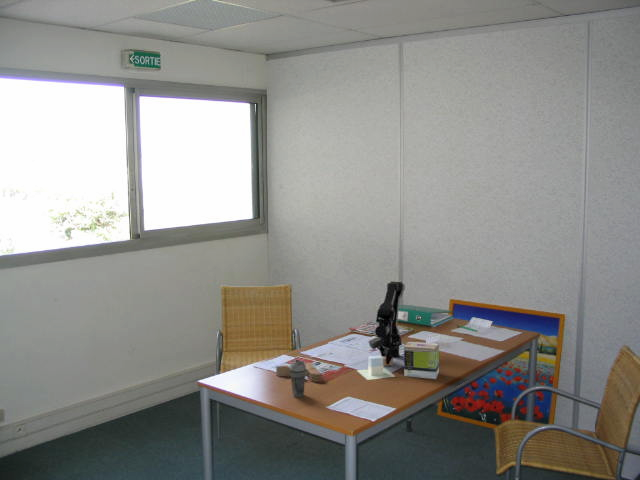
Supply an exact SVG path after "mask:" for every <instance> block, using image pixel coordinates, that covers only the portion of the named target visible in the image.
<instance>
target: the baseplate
mask: <svg viewBox="0 0 640 480" xmlns="http://www.w3.org/2000/svg"><path fill="white" fill-rule="evenodd" d="M356 372H357V373H359V374H360V375H361V376H363V378H365V380H367V381H371V380H377V379H380V380H381V379H387V378H394V377H396V376H395V375H394V374H393V373H391V372H390V371H389V370H388V369H386V368H385V366H383V374H379V375H370V374H369V373H368V368H367V369H359V370H358V369H357V370H356Z"/></svg>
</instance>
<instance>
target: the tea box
mask: <svg viewBox="0 0 640 480" xmlns="http://www.w3.org/2000/svg"><path fill="white" fill-rule="evenodd" d="M439 346H440V344H439V343H437V342H436V343H435V342H419V341H407V342H406V343H405V345H404V347H403V360H404V361H403V369H404V370H403V372H404V374H403V375H404V377H409V378H410V377H411V378H412V377H413V378H422V379H431V380H437V377H438V376H439V371H440V352H439V351H440V350H439V349H440V347H439Z"/></svg>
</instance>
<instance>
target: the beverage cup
mask: <svg viewBox="0 0 640 480" xmlns="http://www.w3.org/2000/svg"><path fill="white" fill-rule="evenodd" d="M301 353H302V350H299V356H298V359H296V360H294V361H292V363H291V364H290V366H289V367H290V374H291V377H290V379H291V387H292V389H291V391H292V395H293V397H295V398H302V397H304V396H305V395H304V393H305V382H306V376H305V374H306V366H305V364H304V363H305V362H303V361H302V360H301V355H302V354H301Z"/></svg>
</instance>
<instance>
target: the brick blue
mask: <svg viewBox="0 0 640 480" xmlns="http://www.w3.org/2000/svg"><path fill="white" fill-rule="evenodd" d="M367 365H369V366H370V367H377V366H383V357H382V356H381V354H379V355H378V354H377V355H370V356H367ZM383 367H384V366H383Z"/></svg>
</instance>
